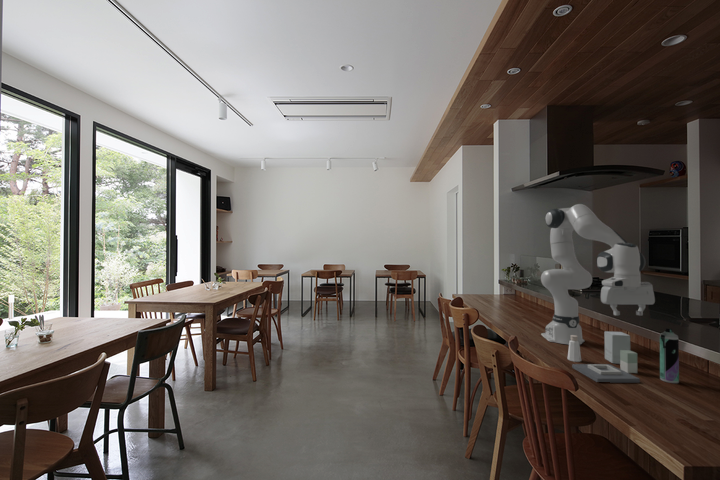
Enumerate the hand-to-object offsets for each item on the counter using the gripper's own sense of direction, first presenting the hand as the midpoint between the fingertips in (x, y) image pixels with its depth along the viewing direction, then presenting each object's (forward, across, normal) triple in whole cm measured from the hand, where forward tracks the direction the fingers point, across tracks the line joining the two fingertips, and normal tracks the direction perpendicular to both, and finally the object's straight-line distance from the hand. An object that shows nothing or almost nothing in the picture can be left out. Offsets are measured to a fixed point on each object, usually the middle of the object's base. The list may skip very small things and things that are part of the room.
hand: (628, 315), depth 146 cm
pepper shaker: (+23, +14, -14) cm, 30 cm away
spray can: (+23, -8, +10) cm, 27 cm away
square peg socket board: (+23, +13, +4) cm, 27 cm away
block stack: (+23, 0, 0) cm, 23 cm away
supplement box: (+23, -4, -12) cm, 26 cm away
